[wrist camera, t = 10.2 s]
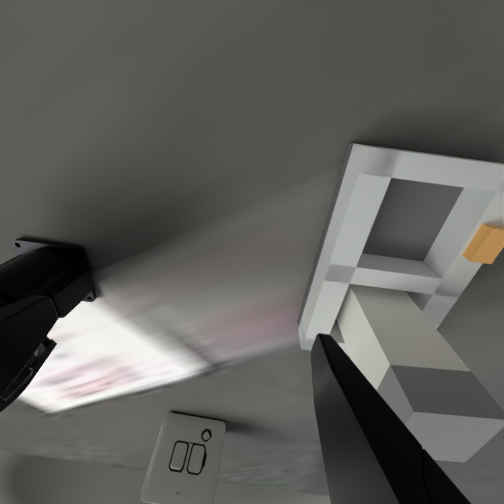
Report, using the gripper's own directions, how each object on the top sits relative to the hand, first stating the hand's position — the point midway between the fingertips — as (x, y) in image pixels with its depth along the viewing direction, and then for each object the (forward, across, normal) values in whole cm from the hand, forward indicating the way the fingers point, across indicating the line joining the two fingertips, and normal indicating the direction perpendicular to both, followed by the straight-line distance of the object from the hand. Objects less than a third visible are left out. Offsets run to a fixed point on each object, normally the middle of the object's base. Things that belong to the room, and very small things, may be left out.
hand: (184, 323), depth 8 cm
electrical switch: (+13, +3, +36) cm, 38 cm away
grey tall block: (+12, -13, +7) cm, 19 cm away
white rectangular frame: (+13, -13, +3) cm, 19 cm away
